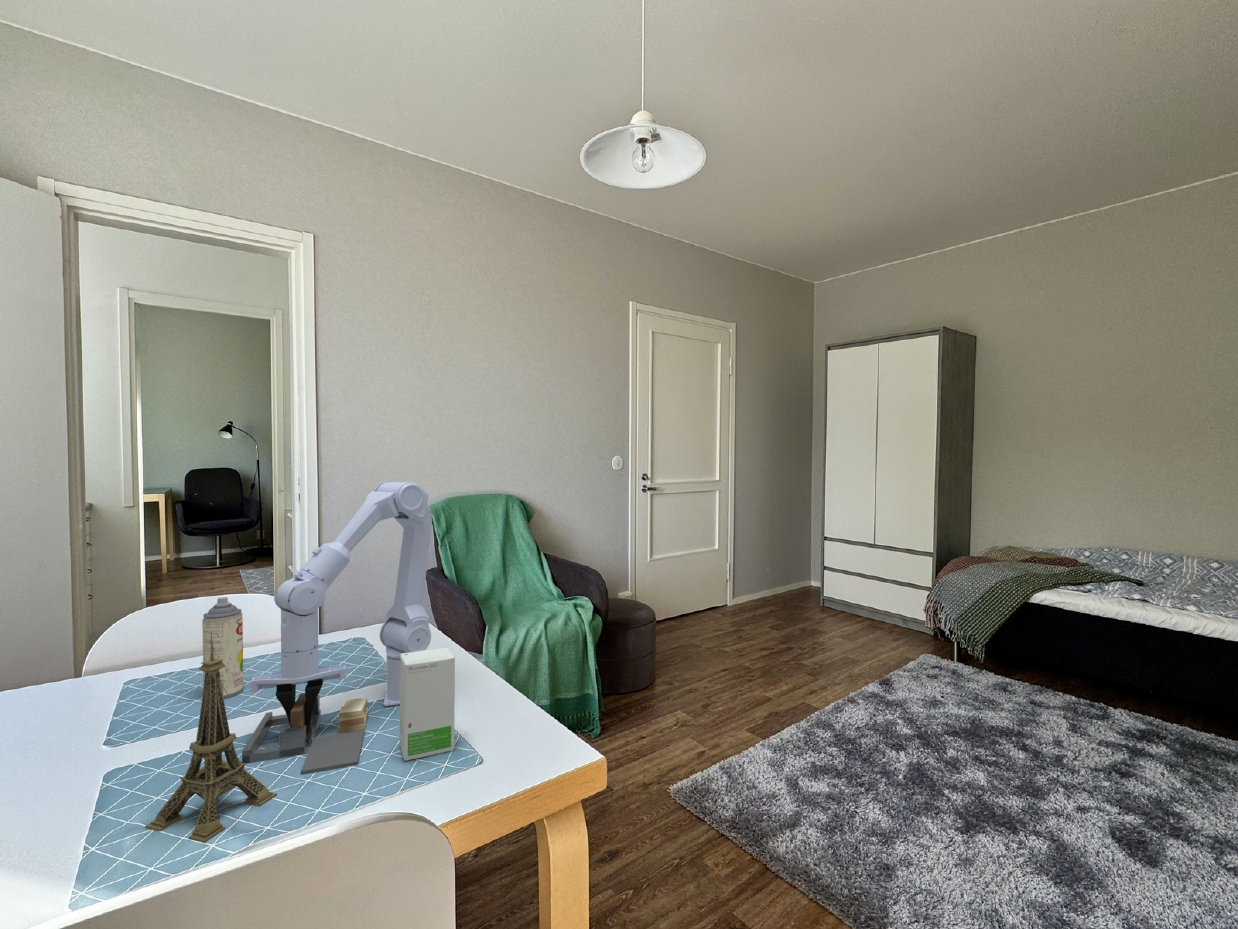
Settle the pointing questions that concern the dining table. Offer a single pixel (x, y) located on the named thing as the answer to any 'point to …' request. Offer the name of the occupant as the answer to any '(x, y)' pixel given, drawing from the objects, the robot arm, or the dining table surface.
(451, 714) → the skincare box
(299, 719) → the walnut sheet
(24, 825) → the dining table surface
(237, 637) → the aerosol can
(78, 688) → the dining table surface
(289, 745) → the rack
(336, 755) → the mat
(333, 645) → the dining table surface
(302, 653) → the robot arm
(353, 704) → the offcut stack
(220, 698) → the eiffel tower
